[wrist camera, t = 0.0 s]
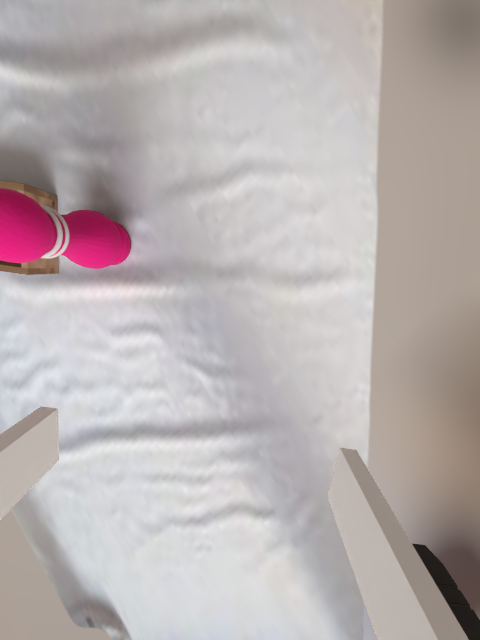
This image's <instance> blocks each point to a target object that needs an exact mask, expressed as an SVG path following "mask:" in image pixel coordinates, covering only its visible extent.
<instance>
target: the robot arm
mask: <svg viewBox="0 0 480 640" xmlns="http://www.w3.org/2000/svg"><path fill="white" fill-rule="evenodd" d="M58 460H59V439H58V409H56V408H48V407H40V408H38V409H37V410H35V411H34V412H33V413H31V414H30V415H28V416H27V417H25V418H24V419H22V420H21V421H19V422H18V423H17V424H15V425H14V426H12V427H11V428H9V429H8V430H6V431H5V432H3V433H2V434H1V435H0V520H1V519H2V518H3V517H4V516H5V515H6V514H7V513H8V512H9V511H10V510H11V509H12V508H13V507H14V506H15V505H16V504H17V502H18V501H19V500H20V499H21V498H22V497H23V496H24V495H25V494H26V493H27V492H28V491H29V490H30V489H31V488H32V487H33V486H34V485H35V484H36V483H37V482H38V481H39V480H40V479H41V478H42V477H43V476H44V475H45V473H46V472H47V471H48V470H49V469H50V468H51V467H52V466H53V465H54V464H55V463H56V462H57V461H58ZM327 497H328V500H329V503H330V506H331V509H332V511H333V514H334V517H335V520H336V523H337V526H338V529H339V532H340V534H341V537H342V540H343V543H344V546H345V549H346V552H347V554H348V557H349V560H350V563H351V566H352V569H353V572H354V574H355V577H356V580H357V583H358V586H359V589H360V592H361V595H362V597H363V600H364V603H365V606H366V609H367V612H368V615H369V617H370V620H371V623H372V626H373V629H374V632H375V634H376V637H377V640H480V620H479V618H478V617H477V615H476V614H475V612H474V611H473V610H471V608H470V605H469V603H468V602H467V600H466V599H465V597H464V595H463V594H462V593H461V591H460V590H458V588H457V585H456V583H455V582H454V580H453V579H452V577H451V576H450V574H449V573H448V571H447V570H446V568H445V567H444V565H443V564H442V563H441V562H440V561H439V560H438V558H437V557H436V556H435V555H434V554H433V553H432V552H431V551H430V550H429V549H428V548H427V547H426V546H425V545H419V544H412V543H411V542H410V540H409V538H408V537H407V535H406V533H405V531H404V530H403V528H402V526H401V525H400V523H399V521H398V520H397V518H396V516H395V515H394V513H393V511H392V510H391V508H390V506H389V504H388V503H387V501H386V499H385V498H384V496H383V494H382V493H381V491H380V489H379V488H378V486H377V484H376V482H375V481H374V479H373V477H372V476H371V474H370V472H369V471H368V469H367V467H366V466H365V464H364V462H363V461H362V459H361V457H360V456H359V454H358V452H357V450H352V449H345V448H340V449H339V453H338V457H337V461H336V465H335V468H334V472H333V476H332V480H331V484H330V488H329V492H328V495H327Z"/></svg>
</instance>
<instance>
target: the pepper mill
mask: <svg viewBox="0 0 480 640" xmlns="http://www.w3.org/2000/svg"><path fill="white" fill-rule="evenodd" d="M130 249H131V242H130V238H129V235H128V233H127V231H126V230H125V229H124V228H123V227H122V226H121V225H119V224H118V223H116V222H113V221H111V220H110V219H109V218H108V217H106V216H105V215H103V214H101V213H98V212H94V211H90V210H79V211H74V212H71V213H69V214H67V215H60V214H59V213H58V212H57V211H55V210H54V209H52V208H50V207H47V206H43V205H40V204H38V203H37V202H36V201H35V200H34V199H32V198H30V197H28V196H27V195H25V194H22V193H20V192H18V191H14V190H10V189H4V188H0V260H2V261H6V262H12V263H27V262H32V261H35V260H37V259H40V258H55V257H57V256H59V255H64V256H66V257H67V258H68V259H70V260H71V261H73V262H74V263H76V264H78V265H81V266H83V267H87V268H94V269H97V268H104V267H107V266H109V265H116V264H119V263H121V262H123V261H124V260H125V259H126V258H127V257H128V255H129V253H130Z"/></svg>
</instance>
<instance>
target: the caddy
mask: <svg viewBox="0 0 480 640" xmlns="http://www.w3.org/2000/svg"><path fill="white" fill-rule="evenodd" d="M0 188H4V189H10V190H14V191H18V192H20V193H22V194H25V195H27V196H28V197H30V198H32V199H34V200H35V201H36V202H37V203H38V204H40V205H43V206H47V207H50V208H52V209H54V210H55V211H57V212H58V210H57V196H56V195H53V194H51V193H48V192H45V191H42V190H40V189H37V188H34V187H31V186H29V185H26V184H23V183H16V182H9V181H2V180H0ZM0 271H5V272H12V273H19V274H26V275H33V274H56V273H59V262H58V256H57V257H55V258H40V259H37V260H35V261H32V262H27V263H12V262H6V261H2V260H0Z"/></svg>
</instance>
